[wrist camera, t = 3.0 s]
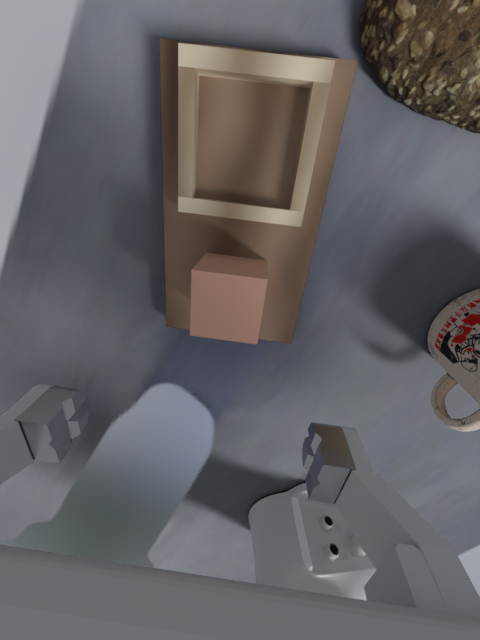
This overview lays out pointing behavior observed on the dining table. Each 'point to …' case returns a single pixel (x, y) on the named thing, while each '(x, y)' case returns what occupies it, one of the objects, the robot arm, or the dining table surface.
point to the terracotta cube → (228, 297)
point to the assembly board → (247, 165)
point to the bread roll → (427, 55)
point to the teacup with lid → (457, 356)
